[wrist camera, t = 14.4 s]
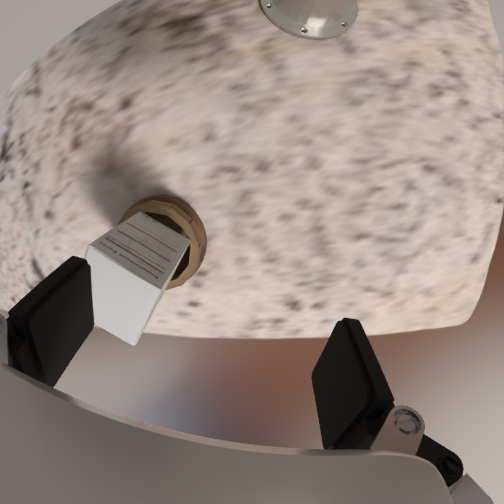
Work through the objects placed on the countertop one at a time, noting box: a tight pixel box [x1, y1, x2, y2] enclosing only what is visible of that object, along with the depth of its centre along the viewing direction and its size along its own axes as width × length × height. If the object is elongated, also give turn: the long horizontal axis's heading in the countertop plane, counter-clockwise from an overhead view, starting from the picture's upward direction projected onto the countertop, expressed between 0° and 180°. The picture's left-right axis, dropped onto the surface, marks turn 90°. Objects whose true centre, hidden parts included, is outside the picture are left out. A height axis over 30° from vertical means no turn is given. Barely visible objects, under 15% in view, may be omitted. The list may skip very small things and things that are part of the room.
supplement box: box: [84, 212, 191, 345], centre depth 28 cm, size 7×7×13 cm
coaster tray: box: [118, 195, 207, 290], centre depth 35 cm, size 12×12×4 cm
